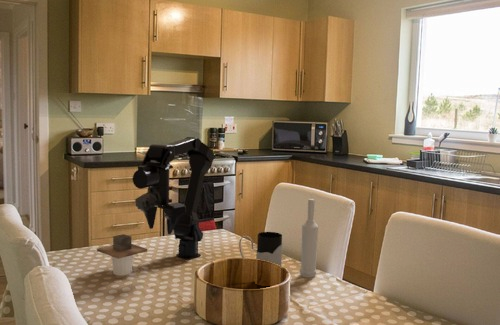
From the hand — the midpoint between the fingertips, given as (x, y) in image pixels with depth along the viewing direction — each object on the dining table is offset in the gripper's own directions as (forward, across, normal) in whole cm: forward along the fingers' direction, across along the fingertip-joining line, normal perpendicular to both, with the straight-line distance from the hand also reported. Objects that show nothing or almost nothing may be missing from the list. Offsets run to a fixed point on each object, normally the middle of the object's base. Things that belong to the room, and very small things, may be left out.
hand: (160, 231), depth 168 cm
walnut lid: (+6, -6, -11) cm, 13 cm away
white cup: (+13, -6, -11) cm, 18 cm away
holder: (+13, +30, +15) cm, 36 cm away
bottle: (+13, +37, +30) cm, 50 cm away
